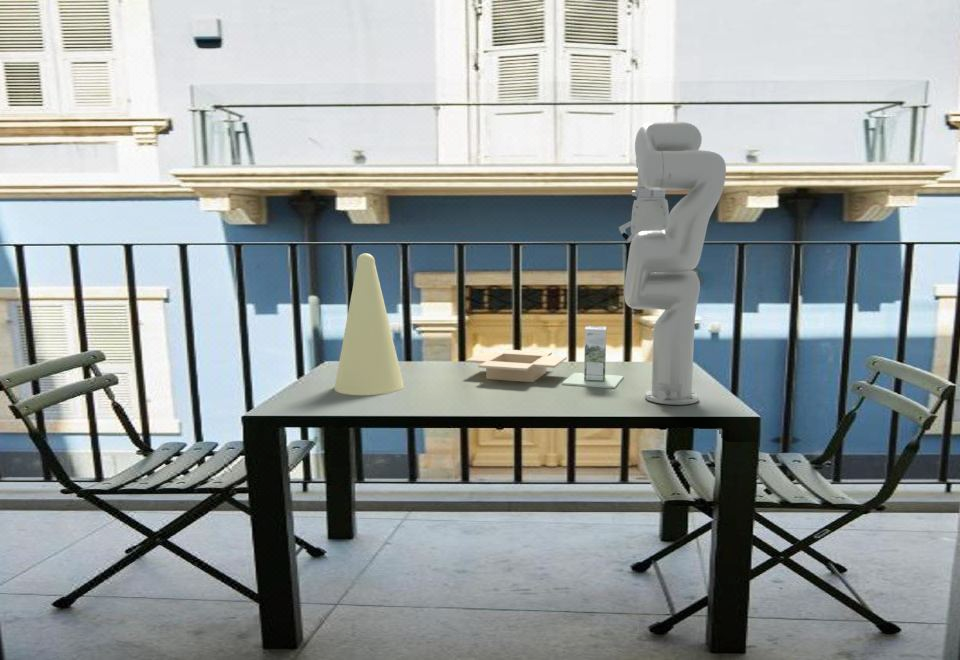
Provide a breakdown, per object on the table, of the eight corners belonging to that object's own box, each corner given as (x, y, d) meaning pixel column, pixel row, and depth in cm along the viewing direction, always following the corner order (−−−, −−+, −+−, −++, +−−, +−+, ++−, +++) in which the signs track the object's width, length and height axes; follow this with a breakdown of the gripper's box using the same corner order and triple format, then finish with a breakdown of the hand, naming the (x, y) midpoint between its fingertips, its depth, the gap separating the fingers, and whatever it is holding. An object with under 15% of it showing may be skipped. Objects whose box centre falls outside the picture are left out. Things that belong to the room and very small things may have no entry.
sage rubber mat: (614, 388, 183) (614, 386, 183) (562, 384, 188) (562, 382, 188) (623, 377, 196) (623, 375, 196) (574, 374, 201) (574, 372, 201)
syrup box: (605, 377, 194) (606, 325, 192) (605, 382, 188) (606, 328, 186) (584, 376, 195) (585, 325, 193) (583, 381, 189) (584, 328, 187)
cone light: (404, 393, 179) (401, 256, 174) (331, 396, 177) (326, 257, 172) (402, 374, 203) (399, 252, 198) (338, 376, 201) (333, 253, 196)
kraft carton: (548, 388, 183) (548, 369, 183) (458, 381, 192) (457, 363, 192) (571, 369, 207) (571, 353, 206) (489, 364, 216) (489, 348, 215)
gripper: (617, 195, 195) (616, 257, 197) (682, 193, 189) (679, 257, 191) (621, 196, 202) (620, 255, 204) (684, 194, 196) (682, 256, 198)
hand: (649, 256), depth 198 cm, fingers open, 9 cm apart
